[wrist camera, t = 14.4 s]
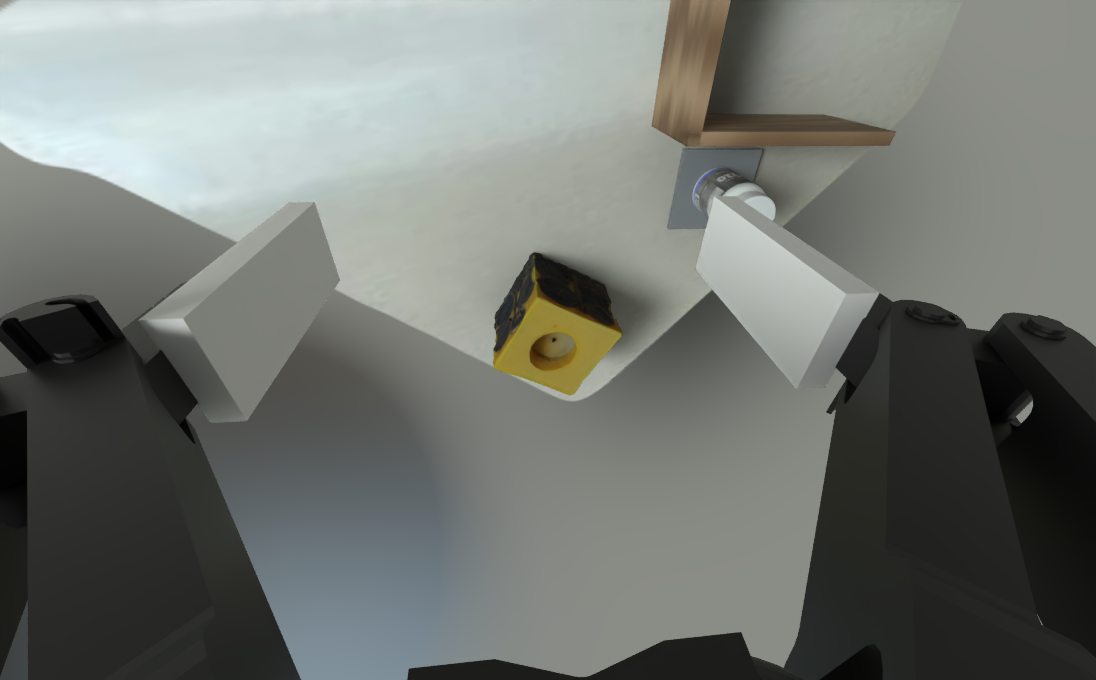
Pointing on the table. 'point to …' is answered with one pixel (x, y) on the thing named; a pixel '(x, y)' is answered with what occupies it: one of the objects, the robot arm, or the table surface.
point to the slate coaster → (694, 168)
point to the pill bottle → (730, 191)
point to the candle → (553, 326)
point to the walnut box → (689, 85)
